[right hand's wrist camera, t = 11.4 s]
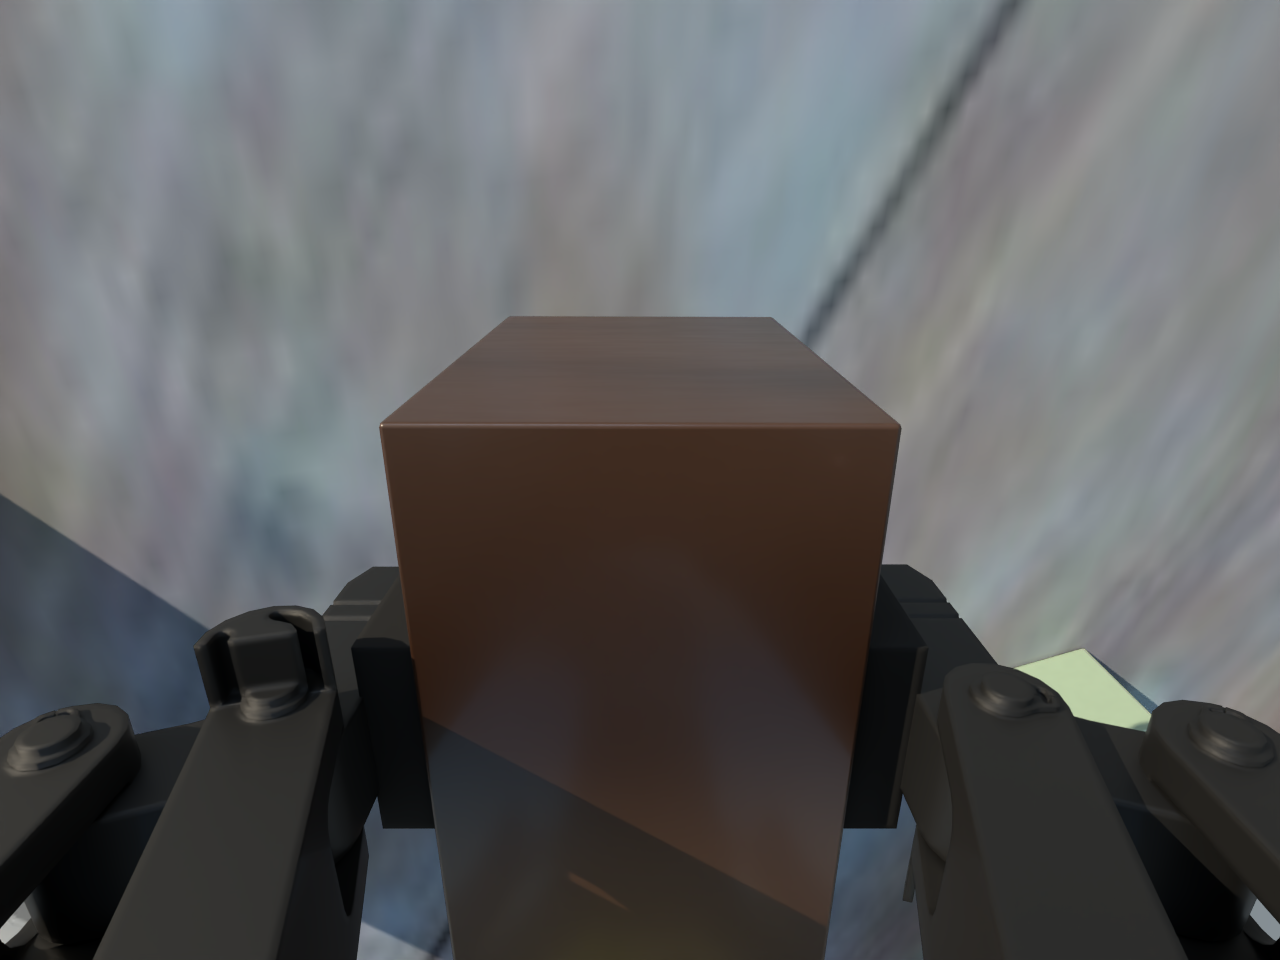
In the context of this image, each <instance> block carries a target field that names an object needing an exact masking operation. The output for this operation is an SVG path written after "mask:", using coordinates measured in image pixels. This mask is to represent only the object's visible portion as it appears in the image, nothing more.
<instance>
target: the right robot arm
mask: <svg viewBox="0 0 1280 960" xmlns="http://www.w3.org/2000/svg"><path fill="white" fill-rule="evenodd" d="M333 602H334V603H333V605H330V606H329V608H328V609H327V610H326V612H325V613H324V614H323V615H322V616H321V615H320V614H319V613H317V612H316V611H315V610H314V609H309V608H305V607H300V606H273V607H268V608H263V609H258V610H253V611H249V612H246V613H244V614H241V615H238V616H236V617H233V618H231V619H228V620H225V621H224V622H222V623H221V624H219V625H217V626H216V627H214V628H212V629H211V630H209V631H207V632H206V633H205V634H204V635H203V636H202V637H201V638H200V639H199V640H198V642H197V643H196V644H195V645H194V646H193V647H194V650H195V654H196V658H197V661H198V665H199V669H200V672H201V676H202V679H203V683H204V687H205V690H206V694H207V697H208V701H209V705H210V710H209V713H208V715H207V717H206V719H205V720H201V721H198V722H194V723H190V724H185V725H180V726H175V727H171V728H166V729H161V730H156V731H151V732H146V733H141V734H137V735H134V732H133V729H132V725H131V722H130V719H129V716H128V714H127V713H126V712H124V711H123V710H122V709H120V708H119V707H118V706H114V705H107V704H100V703H95V704H87V705H79V706H71V707H66V708H62V709H58V711H55V710H54V711H52V712H49V713H46V714H43V715H40V716H38V717H37V718H35V719H33V720H31V721H29V722H27V723H25V724H23V725H21V726H18V727H16V728H14V729H13V730H11V731H10V732H8V733H7V734H5V735H4V736H2V737H1V738H0V929H1V927H2V926H3V925H4V924H5V923H6V922H7V921H8V919H9V918H10V917H11V916H12V915H13V914H14V912H15V911H16V910H17V909H18V908H19V907H20V906H21V904H22V903H23V902H24V903H25V905H26V908H27V910H28V912H29V914H30V916H31V918H30V919H29V920H28V922H27V923H26V924H25V925H24V926H23V928H22V929H21V930H20V931H19V932H18V933H17V934H16V935H15V936H14V937H12V938H11V939H10V940H9V941H8V942H7V943H6V944H4V943H3V942H2V941H1V939H0V960H357V952H358V943H359V935H360V926H361V918H362V909H363V901H364V892H365V884H366V875H367V867H368V858H369V854H368V847H367V840H366V835H365V830H364V824H365V822H366V820H367V817H368V815H369V813H370V811H371V808H372V806H373V804H374V802H375V799H376V797H378V803H379V808H380V814H381V820H382V825H383V828H435V824H434V816H433V809H432V802H431V795H430V788H429V781H428V773H427V766H426V759H425V752H424V745H423V738H422V730H421V723H420V716H419V709H418V702H417V694H416V687H415V680H414V673H413V666H412V659H411V651H410V644H409V637H408V630H407V623H406V615H405V608H404V601H403V594H402V587H401V580H400V572H399V567H372V568H370V569H369V570H367V571H366V572H364V573H363V574H361V575H359V576H358V577H356V578H355V579H353V580H351V581H350V582H348V583H347V585H346V586H345V587H344V588H343V590H342V591H341V592H340V594H339V595H338V596H337V597H336V599H335V600H334V601H333ZM902 794H903V795H904V797H905V799H906V801H907V804H908V806H909V808H910V810H911V813H912V815H913V817H914V819H915V821H916V830H915V835H914V840H913V845H912V850H911V856H910V861H909V866H908V871H907V876H906V882H905V887H904V894H903V901H907V902H912V901H913V896H914V891H916V899H917V908H918V916H919V925H920V933H921V941H922V950H923V958H924V960H1280V938H1279V939H1278V940H1277V941H1275V940H1273V939H1272V938H1271V937H1270V936H1269V935H1268V934H1267V933H1266V932H1264V931H1263V930H1262V929H1261V927H1260V926H1259V925H1258V924H1257V923H1256V922H1255V920H1254V919H1253V918H1252V917H1251V916H1250V913H1251V910H1252V908H1253V906H1254V904H1255V901H1256V899H1258V900H1259V901H1260V902H1261V903H1262V904H1263V905H1264V907H1265V908H1266V909H1267V910H1268V911H1269V912H1270V913H1271V915H1272V916H1273V917H1274V918H1275V919H1276V920H1277V921H1278V922H1279V924H1280V734H1279V733H1278V732H1276V731H1275V730H1273V729H1272V728H1270V727H1269V726H1267V725H1265V724H1263V723H1261V722H1259V721H1257V720H1254V719H1252V718H1250V717H1248V716H1246V715H1244V714H1243V713H1241V712H1239V711H1236V710H1233V709H1230V708H1227V707H1226V708H1224V707H1222V706H1220V705H1215V704H1211V703H1204V702H1196V701H1188V700H1178V701H1171V702H1164V703H1162V704H1161V705H1160V706H1158V707H1157V708H1156V709H1155V710H1153V711H1152V714H1151V717H1150V720H1149V724H1148V727H1147V730H1146V732H1144V731H1139V730H1134V729H1129V728H1125V727H1120V726H1115V725H1110V724H1105V723H1100V722H1095V721H1090V720H1087V719H1083V718H1079V717H1075V716H1073V713H1072V711H1071V709H1070V707H1069V706H1068V705H1067V703H1066V702H1065V701H1064V699H1063V698H1062V697H1061V696H1060V694H1059V693H1058V692H1057V691H1055V690H1054V689H1052V688H1051V687H1050V686H1048V685H1047V684H1045V683H1044V682H1043V681H1041V680H1040V679H1038V678H1035V677H1033V676H1031V675H1029V674H1026V673H1024V672H1022V671H1020V670H1017V669H1014V668H1009V667H1005V666H1001V665H998V664H997V663H996V661H995V660H994V659H993V658H992V656H991V655H990V654H989V653H988V651H987V650H986V649H985V647H984V646H983V645H982V644H981V642H980V641H979V640H978V638H977V637H976V636H975V635H974V633H973V632H972V631H971V630H970V628H969V627H968V626H967V624H966V623H965V622H964V621H963V619H962V618H959V614H958V613H957V612H956V610H955V609H954V608H953V607H952V605H951V604H950V603H947V601H946V598H945V596H944V595H943V594H942V592H941V591H940V590H939V589H938V587H937V586H936V585H935V584H934V582H933V581H932V580H931V579H929V578H927V577H926V576H924V575H923V574H921V573H920V572H918V571H916V570H915V569H913V568H912V567H910V566H908V565H881V572H880V579H879V586H878V593H877V600H876V607H875V614H874V620H873V627H872V634H871V641H870V648H869V655H868V662H867V668H866V675H865V682H864V689H863V696H862V703H861V710H860V717H859V723H858V730H857V737H856V744H855V751H854V758H853V765H852V772H851V778H850V785H849V792H848V799H847V806H846V813H845V820H844V827H843V828H897V822H898V817H899V811H900V806H901V800H902Z"/></svg>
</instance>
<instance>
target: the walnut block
mask: <svg viewBox="0 0 1280 960" xmlns="http://www.w3.org/2000/svg"><path fill="white" fill-rule="evenodd" d="M379 429H380V436H381V443H382V450H383V458H384V465H385V472H386V479H387V486H388V493H389V501H390V508H391V515H392V522H393V529H394V537H395V544H396V551H397V558H398V565H399V572H400V580H401V587H402V594H403V601H404V608H405V615H406V623H407V630H408V637H409V644H410V651H411V659H412V666H413V673H414V680H415V687H416V694H417V702H418V709H419V716H420V723H421V730H422V738H423V745H424V752H425V759H426V766H427V773H428V781H429V788H430V795H431V802H432V809H433V816H434V824H435V831H436V838H437V845H438V852H439V860H440V867H441V874H442V881H443V888H444V895H445V903H446V910H447V917H448V924H449V931H450V939H451V946H452V953H453V960H824V957H825V950H826V943H827V937H828V930H829V923H830V916H831V909H832V902H833V895H834V888H835V882H836V875H837V868H838V861H839V854H840V847H841V840H842V833H843V827H844V820H845V813H846V806H847V799H848V792H849V785H850V778H851V772H852V765H853V758H854V751H855V744H856V737H857V730H858V723H859V717H860V710H861V703H862V696H863V689H864V682H865V675H866V668H867V662H868V655H869V648H870V641H871V634H872V627H873V620H874V614H875V607H876V600H877V593H878V586H879V579H880V572H881V565H882V559H883V552H884V545H885V538H886V531H887V524H888V517H889V510H890V504H891V497H892V490H893V483H894V476H895V469H896V462H897V455H898V449H899V442H900V435H901V426H900V424H899V423H898V422H897V421H895V420H894V419H893V418H892V417H891V416H889V415H888V414H887V413H886V412H885V411H883V410H882V409H881V408H880V407H879V406H877V405H876V404H875V403H874V402H873V401H871V400H870V399H869V398H868V397H867V396H865V395H864V394H863V393H862V392H861V391H859V390H858V389H857V388H856V387H855V386H853V385H852V384H851V383H850V382H849V381H847V380H846V379H845V378H844V377H843V376H841V375H840V374H839V373H838V372H837V371H836V370H834V369H833V368H832V367H831V366H830V365H828V364H827V363H826V362H825V361H824V360H822V359H821V358H820V357H819V356H818V355H816V354H815V353H814V352H813V351H812V350H810V349H809V348H808V347H807V346H806V345H804V344H803V343H802V342H801V341H800V340H798V339H797V338H796V337H795V336H794V335H792V334H791V333H790V332H789V331H788V330H786V329H785V328H784V327H783V326H782V325H780V324H779V323H778V322H777V321H776V320H774V319H773V318H771V317H540V316H510V317H508V318H507V319H505V320H504V321H503V322H502V323H501V324H499V325H498V326H497V327H496V328H495V329H493V330H492V331H491V332H490V333H489V334H487V335H486V336H485V337H484V338H482V339H481V340H480V341H479V342H478V343H476V344H475V345H474V346H473V347H472V348H470V349H469V350H468V351H467V352H466V353H464V354H463V355H462V356H461V357H460V358H458V359H457V360H456V361H455V362H454V363H452V364H451V365H450V366H449V367H448V368H446V369H445V370H444V371H443V372H441V373H440V374H439V375H438V376H437V377H435V378H434V379H433V380H432V381H431V382H429V383H428V384H427V385H426V386H425V387H423V388H422V389H421V390H420V391H419V392H417V393H416V394H415V395H414V396H413V397H411V398H410V399H409V400H408V401H407V402H405V403H404V404H403V405H402V406H401V407H399V408H398V409H397V410H396V411H394V412H393V413H392V414H391V415H390V416H388V417H387V418H386V419H385V420H384V421H382V422H381V423H380V426H379Z"/></svg>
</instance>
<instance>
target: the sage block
mask: <svg viewBox="0 0 1280 960" xmlns="http://www.w3.org/2000/svg"><path fill="white" fill-rule="evenodd" d="M1014 669H1017V670H1020V671H1022V672H1024V673H1026V674H1029V675H1031V676H1033V677H1035V678H1038V679H1040V680H1041V681H1043V682H1044V683H1045V684H1047V685H1048V686H1050V687H1051V688H1052V689H1054V690H1055V691H1057V692H1058V693H1059V694H1060V696H1061V697H1062V698H1063V699H1064V701H1065V702H1066V703H1067V705H1068V706H1069V707H1070V709H1071V711H1072V713H1073V716H1075V717H1079V718H1083V719H1087V720H1090V721H1095V722H1100V723H1105V724H1110V725H1115V726H1120V727H1125V728H1129V729H1134V730H1139V731H1144V732H1146V730H1147V727H1148V724H1149V720H1150V717H1151V714H1150V713H1149V712H1148V711H1147V710H1146V709H1145V708H1144V707H1143V706H1142V705H1141V704H1140V703H1139V702H1138V701H1137V700H1136V699H1135V698H1134V697H1133V696H1132V695H1131V694H1130V693H1129V692H1128V691H1127V690H1126V689H1125V688H1124V687H1123V686H1122V685H1121V684H1120V683H1119V682H1118V681H1117V680H1116V679H1115V678H1114V677H1113V676H1112V675H1111V674H1110V673H1109V672H1108V671H1107V670H1106V669H1105V668H1104V667H1103V666H1102V665H1101V664H1100V663H1098V662H1097V661H1096V660H1095V659H1094V658H1093V657H1092V656H1091V655H1090V654H1089V653H1088V652H1087V651H1086V650H1085V649H1084V648H1082V649H1079V650H1075V651H1072V652H1068V653H1065V654H1061V655H1058V656H1054V657H1051V658H1047V659H1044V660H1040V661H1037V662H1033V663H1030V664H1026V665H1023V666H1019V667H1016V668H1014Z"/></svg>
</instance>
